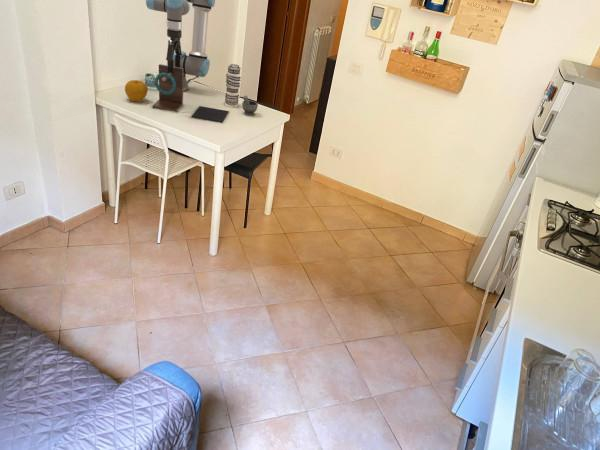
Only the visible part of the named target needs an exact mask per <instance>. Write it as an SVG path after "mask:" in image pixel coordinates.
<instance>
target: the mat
mask: <svg viewBox="0 0 600 450" xmlns="http://www.w3.org/2000/svg"><path fill="white" fill-rule="evenodd" d="M228 114H229V110H227V109H219V108H213V107H208V106H202V105H199V106H198V107H197V109H195V111H194V112H193V114H191V116H190V118H191V119H197V120H203V121H208V122H214V123H223V122H224V121H225V119H226V118H227V116H228Z"/></svg>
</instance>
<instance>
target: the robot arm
mask: <svg viewBox="0 0 600 450" xmlns="http://www.w3.org/2000/svg"><path fill="white" fill-rule="evenodd" d="M215 3H216V0H145V5H146V8H147V9H148V10H151V11H156V12H160V13H161V12H162V13H166V21H165V23H166V27H167V29H166V36H167V37H168V38H170V40H167V52H166V57H165V60H166V65H167V66H168V72H169V73H173V67H179V68H183V92H185V91H186V92H187V91H188V90H189V84H188V83H189V82H190V81H194V80H195V79H199V78H205V77H207V75H208V74H209V73H208V72H209V70H210V65H211V62H210V61H211V60H210V59H209V58H208V54H207V53H206V47H207V36H208V35H207V34H208V24H209V13H210V12H211V11H212V8H214V7H215V5H216V4H215ZM190 4H192V5H191V7H192V9H193V11H194V12H193V25H192V38H191V39H192V41H191V51H189V52H188V55H187V52H186V51H182V45H181V44H182V43H181V38H183V37H182V29H183V16H186V15H187V14H189V12H190V10H191V7H190ZM186 75H189V76H192V77H193V76H194V77H193V78H190V79H187V76H186Z"/></svg>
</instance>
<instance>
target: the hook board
mask: <svg viewBox="0 0 600 450" xmlns="http://www.w3.org/2000/svg"><path fill="white" fill-rule="evenodd" d="M160 73H168V74H170V75H171V76H172V77H173V78H174V80H175V82H176V89H175V90H174V92H173V93H171V94H169V95H167V94H162V93H161V92H159V91H158V100H157V101H155V103H153V104H152V109H157V110H163V111H169V112H173V113H177V112H178V111H179V110H180V109H182V107H183V106H184V91H183V68H179V67H173V73H169V72H168V66H167V64H162V63H159V64H158V74H160ZM158 85H159V87H160V88H161V89H162V90H163V91H170V90H171V89H172V87H173V83H172V81H171V79H170V78H168V77H166V76H162V77H160V78H159V80H158Z"/></svg>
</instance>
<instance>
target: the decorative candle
mask: <svg viewBox="0 0 600 450" xmlns="http://www.w3.org/2000/svg"><path fill="white" fill-rule="evenodd" d="M226 72H227V73H226V75H225V77H226V78H225V83H226V84H225V87H226V90H225V95H224V96H225V98H224V105H225V106H226V107H228V108H229V107H230V108H237V107H238V106H239V99H240V98H239V97H240V93H239V89H240V87H241V83H240V82H241V79H242V77H241V67H240V65H239V64H236V63H231V64H229V65H228V66H227V71H226Z"/></svg>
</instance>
